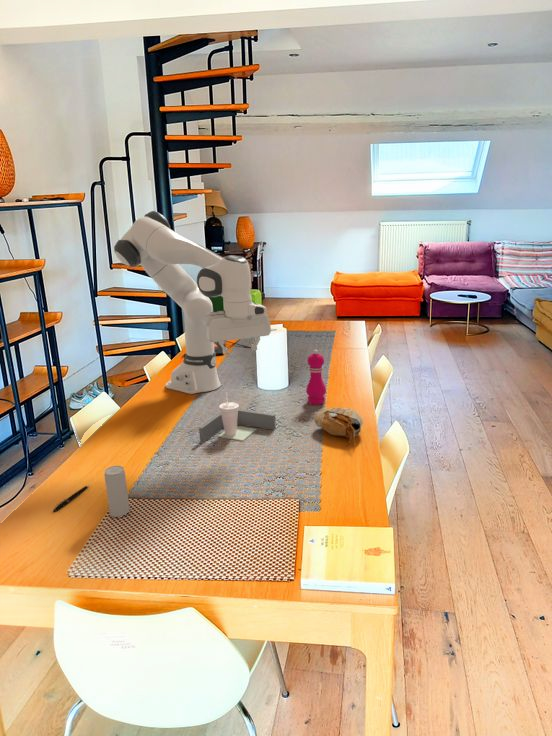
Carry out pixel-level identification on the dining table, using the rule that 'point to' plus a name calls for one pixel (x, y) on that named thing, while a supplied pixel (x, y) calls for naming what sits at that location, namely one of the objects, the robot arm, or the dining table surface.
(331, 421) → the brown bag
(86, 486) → the fountain pen
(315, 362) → the pepper mill
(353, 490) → the dining table surface
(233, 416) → the smoothie
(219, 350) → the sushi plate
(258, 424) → the grey corner wall
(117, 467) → the beverage can
